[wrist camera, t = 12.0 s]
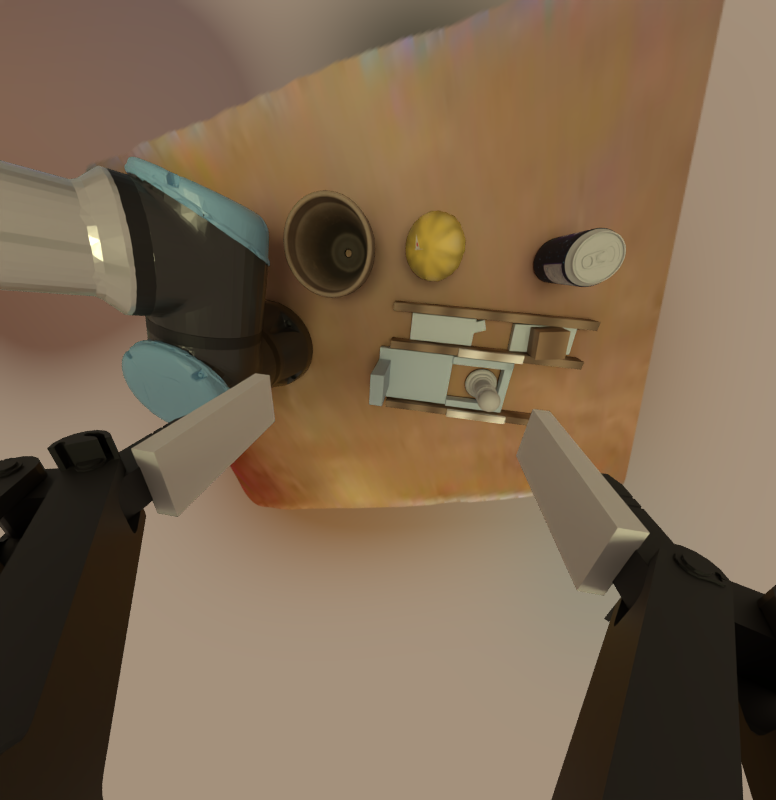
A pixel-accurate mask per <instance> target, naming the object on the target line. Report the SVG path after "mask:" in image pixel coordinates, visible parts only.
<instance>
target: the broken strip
mask: <svg viewBox="0 0 776 800" xmlns="http://www.w3.org/2000/svg"><path fill="white" fill-rule="evenodd" d="M476 320H477V319H474V318H464V317H454V316H445V315H435V314H425V313H415V312H413V317H412V326H411V334H410V339H413V340H422V341H432V342H441V343H450V344H459V345H468V346H471V344H472V339H473V334H474V333H476V332H480V331H485V330H486V326H485V320H484V319H482V320H478V321H476ZM531 327H545V326H544V325H534V324H524V323H513V326H512V331H511V335H510V340H509V344H508V350H509V351H519V352H527V347H528V341H529V335H530V328H531ZM562 328H563V327H562ZM564 329H566V330H569V331H571V333H570V337H569V342H568V346H567V351H566V354H569V353H570V350H571V346H572V343H573V340H574V337H575V334H576V331H577V329H573V328H564Z"/></svg>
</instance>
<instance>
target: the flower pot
mask: <svg viewBox="0 0 776 800" xmlns="http://www.w3.org/2000/svg"><path fill="white" fill-rule="evenodd" d="M283 242H284V251H285V256H286V259H287V262H288V264H289V267H290V269H291V271H292V272H293V274H294V275H295V277H296V278H297V280H298V281H299V282H300V283H301V284H302V285H303V286H304V287H306V288H307V289H308V290H310V291H311V292H313V293H315V294H317V295H320V296H324V297H331V298H334V297H341V296H345V295H347V294H350V293H352V292H354V291H355V290H357V289H358V288H359V287H361V286H362V284H363V283H364V282H365V281H366V279H367V278H368V276H369V274H370V272H371V269H372V266H373V262H374V257H375V241H374V236H373V232H372V229H371V226H370V224H369V222H368V220H367V218H366V216H365V215H364V214H363V212H362V211H361V210H360V208H359V207H358V206H357V205H356V204H355V203H354V202H353V201H352V200H351V199H349V198H348V197H346V196H345V195H343V194H340V193H337V192H334V191H327V190H323V191H317V192H313V193H310V194H308V195H306V196H305V197H303V198H302V199H300V200H299V201H298V202H297V204H296V205H295V206H294V207H293V209H292V210H291V212H290V214H289V216H288V218H287V221H286V224H285V228H284V238H283ZM347 249H350V250H351V251H352V255H351V257H347V256H346V254H345V252H346V250H347Z"/></svg>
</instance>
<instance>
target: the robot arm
mask: <svg viewBox="0 0 776 800" xmlns="http://www.w3.org/2000/svg"><path fill="white" fill-rule="evenodd" d="M125 171H126V172H127V173H128V174H123V173H120V172H117V171H114V170H111V169H108V168H105V167H101V166H96V167H94V168H92V169H91V170H89V171H87V172H86V173H84V174H82V175H81V176H79V177H78V178H74V179H67V178H63V177H59V176H56V175H52V174H48V173H45V172H41V171H37V170H34V169H30V168H26V167H23V166H19V165H16V164H12V163H8V162H5V161H1V160H0V290H10V291H11V290H12V291H25V292H41V293H56V294H72V295H87V296H95V297H98V298H100V299H103V300H104V301H106V302H107V303H109V304H110V305H111V306H113V307H115V308H116V309H117V310H119V311H120V312H122V313H123V314H125V315H139V316H145V317H146V326H147V335H148V340H143V341H140V342H137V343H135V344H134V345H133V346H132V347H131V348H130V350H129V351H127V352H126V353H125V354H124V356H123V359H122V371H123V375H124V378H125V380H126V382H127V384H128V386H129V388H130V390H131V391H132V392H133V394H134V395H135V396H136V398H137V399H138V400H139V401H140V402H141V403H142V404H143V405H144V406H145V407H147V408H148V409H149V410H150V411H151V412H152V413H153V414H155V415H156V416H158V417H159V418H161V419H163V420H164V421H166V422H168V424H166V425H165V426H163V428H159V429H158V430H156V431H154V433H153V434H152V433H151V434H149V435H147V436H146V437H144V438H142V439H141V440H139V441H137V442H136V443H134V444H132V445H131V446H129V447H127V448H125V449H124V450H122V451H120V452H118V450H117V448H116V445H115V443H114V441H113V439H112V436H111V434H110V433H109V432H107V431H102V430H94V431H85V432H81V433H77V434H73V435H70V436H67V437H65V438H62V439H60V440H58V441H56V442H55V443H53V444H52V445H51V446H49V447H48V450H49V452H50V454H51V456H52V457H53V459H54V461H55V463H56V464H57V466H58V468H57V469H45V468H44V467H43V465H42V464H41V462H40V460H39V459H38V458H36V457H33V456H23V457H17V458H9V459H5V460H4V461H3V460H1V461H0V527H1V528H2V529H3V531H4V532H5V534H4V535H3V536H2V537H1V538H0V800H103V797H102V781H103V773H104V767H105V760H106V754H107V749H108V743H109V736H110V730H111V724H112V717H113V712H114V706H115V700H116V694H117V688H118V682H119V676H120V670H121V664H122V658H123V651H124V645H125V640H126V633H127V628H128V621H129V616H130V610H131V604H132V598H133V591H134V586H135V580H136V573H137V567H138V562H139V556H140V549H141V543H142V537H143V531H144V525H145V519H146V514H145V511H144V509H143V508H144V507H145V506H147V505H148V504H149V503H150V502H151V501H153V503H154V505H155V508H156V510H157V513H159V514H165V515H170V516H176V517H178V516H179V515H180V514H181V513H182V512H183V511H184V510H185V509H186V508H187V507H188V506H189V505H190V504H191V503H193V502H194V500H196V498H198V497H199V496H200V494H202V493H203V492H204V491H205V490H206V489H207V488H208V487H209V486H210V485H211V484H212V483H213V482H214V481H215V480H216V479H217V478H218V477H219V476H220V475H221V474H222V473H223V472H224V471H225V470H226V469H227V468H228V467H229V466H230V465H231V464H232V463H233V462H234V461H235V460H236V459H237V458H238V457H239V456H240V455H241V454H242V453H243V452H244V451H245V450H246V449H247V448H248V447H249V446H250V445H251V444H252V443H253V442H254V441H255V440H256V439H257V438H258V437H259V436H261V435H262V434H263V433H264V432H265V431H266V430H267V429H268V428H269V427H270V426H271V425H272V424H273V423H274V422H275V416H274V408H273V400H272V392H271V387H277V386H283V385H287V384H289V383H292V382H294V381H295V380H297V379H298V378H299V377H300V376H302V375H303V374H304V373H305V371H306V370H307V369H308V367H309V365H310V363H311V359H312V341H311V338H310V335H309V332H308V330H307V328H306V326H305V325H304V323H303V322H302V320H301V319H300V318H299V317H298V316H297V315H296V314H295V313H294V312H293V311H292V310H290V309H289V308H287V307H285V306H284V305H282V304H279V303H276V302H272V301H265V296H266V284H267V272H268V266H270V261H269V259H268V248H269V231H268V228H267V225H266V223H265V222H264V220H263V219H262V218H261V217H260V216H259V215H258V214H257V213H255V212H253V211H252V210H250V209H248V208H246V207H245V206H243V205H241V204H239V203H237V202H235V201H233V200H231V199H229V198H227V197H225V196H223V195H221V194H219V193H217V192H214V191H212V190H210V189H208V188H206V187H204V186H202V185H200V184H197V183H195V182H193V181H191V180H188V179H186V178H184V177H180V176H178V175H177V174H174V173H172V172H170V171H167V170H165V169H163V168H162V167H159V166H157V165H155V164H152V163H150V162H148V161H145V160H142V159H140V158H136V157H129V158H128V161H127V164H125ZM516 456H517V459H518V461H519V463H520V465H521V468H522V470H523V472H524V474H525V476H526V479H527V481H528V483H529V485H530V488H531V490H532V492H533V494H534V496H535V499H536V501H537V503H538V505H539V507H540V510H541V512H542V514H543V516H544V519H545V520H546V523H547V525H548V527H549V530H550V532H551V534H552V536H553V539H554V541H555V543H556V545H557V547H558V550H559V552H560V554H561V556H562V559H563V561H564V563H565V565H566V567H567V570H568V572H569V574H570V576H571V578H572V580H573V583H574V585H575V587H576V590H577V591H582V592H587V593H592V594H598V595H605V593H606V592H607V591H608V589H609V588H610V586H611V585H612V584H614V585H615V587H616V589H617V591H618V592H619V594H620V596H621V598H620V599H619V600H618V602H617V603H616V604H615V606H614V607H613V608H612V609H611V611H610V612H609V613H608V614H607V616H606V617H605V619H606V620H607V621H610V623H609V626H608V629H607V632H606V635H605V638H604V641H603V644H602V647H601V650H600V653H599V657H598V660H597V663H596V665H595V669H594V672H593V675H592V678H591V681H590V684H589V687H588V690H587V693H586V696H585V699H584V702H583V705H582V708H581V711H580V714H579V718H578V720H577V724H576V727H575V729H574V733H573V736H572V739H571V742H570V745H569V748H568V751H567V754H566V757H565V760H564V763H563V766H562V769H561V772H560V776H559V778H558V781H557V784H556V787H555V791H554V794H553V797H552V800H743V787H742V768H741V762H742V765H743V768H744V772H745V775H746V778H747V782H748V785H749V788H750V792H751V795H752V798H753V800H776V585H775V586H774V587H773V588H772V589H771V590H769V591H768V592H767V593H766V594H763V593H760V592H757V591H755V590H752V589H750V588H747V587H744V586H742V585H739V584H737V583H734V582H731V581H730V580H729V579H728V578H727V577H726V576H725V574H724V573H723V572H722V571H721V570H720V569H719V568H718V567H717V566H715V565H714V564H713V563H712V562H710V561H709V560H708V559H706V558H705V557H703V556H701V555H700V554H698V553H697V552H695V551H693V550H690V549H688V548H686V547H683V546H681V545H676V544H674V543H673V542H672V541H671V540H670V539H669V537H668V536H667V535H666V534H665V533H664V532H663V531H662V529H661V528H660V527H659V526H658V525H657V524H656V523H655V522H654V520H653V519H652V518H651V517H650V516H649V515H648V514H647V512H646V511H645V510H644V509H641V506H640V505H639V503H638V502H637V501H636V500H635V499H633V498H632V495H631V494H630V493H629V492H628V491H627V490H626V489H625V487H624V486H623V485H622V484H620V483H619V482H618V481H616V480H615V479H614V478H612V477H611V476H609V475H608V474H602V473H600V472H599V471H598V469H597V468H596V467H595V466H594V465H593V463H592V462H591V461H590V460H589V458H588V457H587V456H586V455H585V454H584V452H583V451H582V450H581V449H580V447H579V446H578V445H577V444H576V443H575V441H574V440H573V439H572V438H571V437H570V435H569V434H568V433H567V432H566V430H565V429H564V428H563V427H562V426H561V424H560V423H559V422H558V421H557V420H556V418H555V417H554V416H553V415H552V413H551V412H550V411H544V410H536V409H533V410H532V413H531V416H530V418H529V421H528V424H527V427H526V430H525V433H524V435H523V438H522V441H521V444H520V447H519V450H518V452H517V455H516Z"/></svg>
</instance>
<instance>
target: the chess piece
mask: <svg viewBox="0 0 776 800" xmlns="http://www.w3.org/2000/svg"><path fill="white" fill-rule="evenodd" d="M496 386H497V379H496V377H495V375H494V374H493V373H492V372H491V371H489V370H485V369H479V370H475V371H473V372H472V373H470V374H469V375H468V377H467V379H466V381H465V388H466V390H467V392H468V393H469V394H470V395H471V396H473V397H475V398H476V400H477V402H478V406H479V407H480V408H481V409H482V410H484V411H486V412H493V411H495V410H496V409H497V408H498V407H499V405H500V402H501V399H500V396H499V395H498V394H497V391H496Z"/></svg>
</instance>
